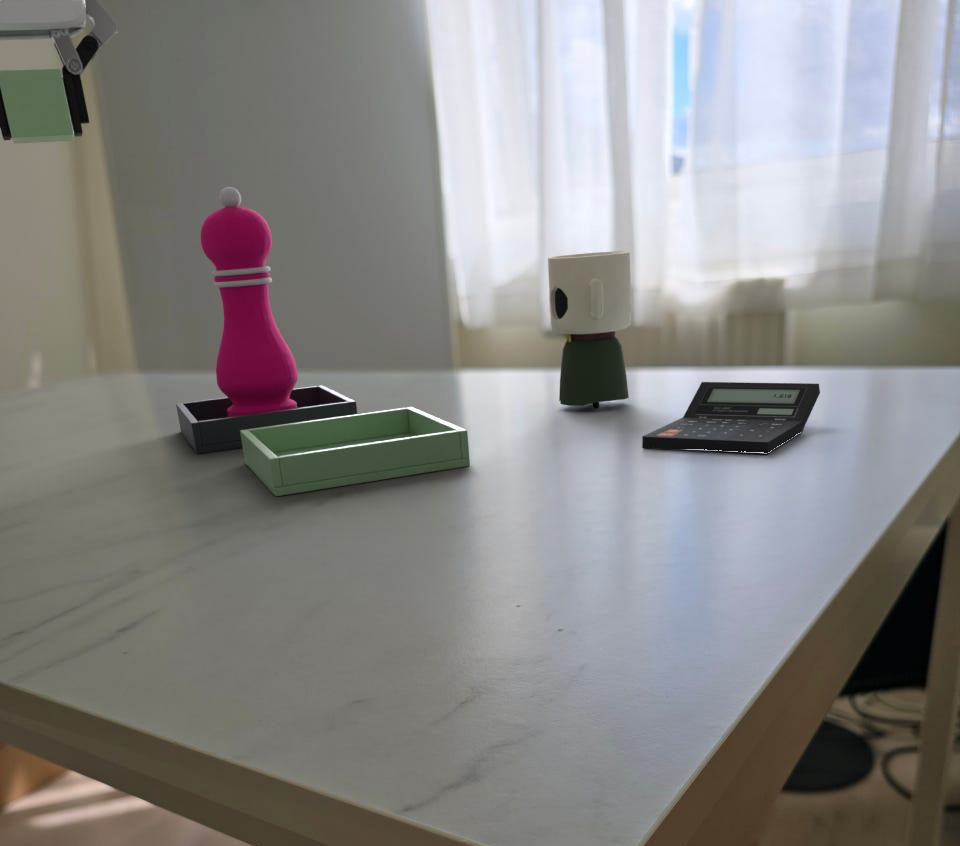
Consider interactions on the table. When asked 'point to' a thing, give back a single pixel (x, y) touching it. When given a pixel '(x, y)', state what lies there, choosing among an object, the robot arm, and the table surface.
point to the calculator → (739, 417)
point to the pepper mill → (247, 311)
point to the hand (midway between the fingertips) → (42, 133)
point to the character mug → (591, 324)
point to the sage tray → (353, 449)
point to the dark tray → (254, 417)
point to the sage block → (36, 105)
